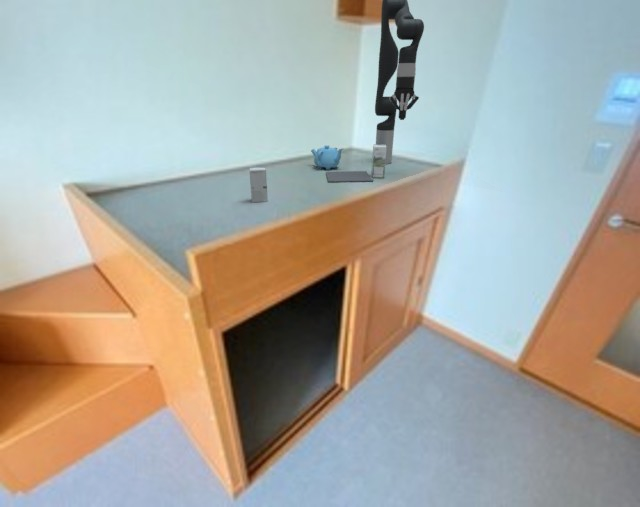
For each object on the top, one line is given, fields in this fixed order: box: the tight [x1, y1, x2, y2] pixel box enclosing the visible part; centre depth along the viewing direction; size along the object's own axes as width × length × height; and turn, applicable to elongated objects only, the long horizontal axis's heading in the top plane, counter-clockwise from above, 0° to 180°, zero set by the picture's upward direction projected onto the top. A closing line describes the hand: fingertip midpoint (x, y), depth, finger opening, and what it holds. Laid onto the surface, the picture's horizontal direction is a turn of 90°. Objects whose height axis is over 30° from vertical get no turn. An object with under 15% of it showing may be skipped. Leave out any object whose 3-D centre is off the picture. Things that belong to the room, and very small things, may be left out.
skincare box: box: [248, 166, 269, 203], centre depth 131 cm, size 6×4×12 cm
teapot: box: [310, 144, 344, 171], centre depth 180 cm, size 15×14×11 cm
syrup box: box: [371, 143, 387, 179], centre depth 162 cm, size 6×6×14 cm
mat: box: [325, 170, 374, 184], centre depth 165 cm, size 18×20×1 cm
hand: (401, 119), depth 155 cm, fingers closed
